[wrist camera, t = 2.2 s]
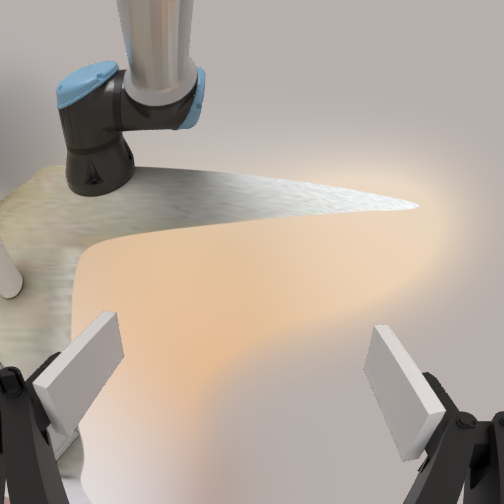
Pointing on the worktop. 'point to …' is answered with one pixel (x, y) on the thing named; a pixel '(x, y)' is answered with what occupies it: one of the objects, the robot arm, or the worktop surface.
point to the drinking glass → (8, 274)
